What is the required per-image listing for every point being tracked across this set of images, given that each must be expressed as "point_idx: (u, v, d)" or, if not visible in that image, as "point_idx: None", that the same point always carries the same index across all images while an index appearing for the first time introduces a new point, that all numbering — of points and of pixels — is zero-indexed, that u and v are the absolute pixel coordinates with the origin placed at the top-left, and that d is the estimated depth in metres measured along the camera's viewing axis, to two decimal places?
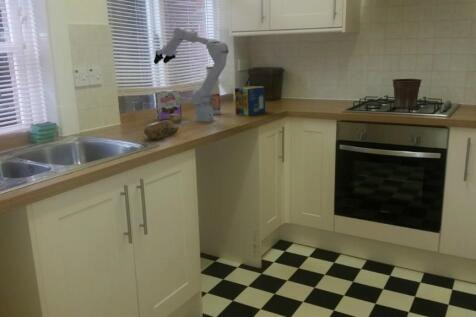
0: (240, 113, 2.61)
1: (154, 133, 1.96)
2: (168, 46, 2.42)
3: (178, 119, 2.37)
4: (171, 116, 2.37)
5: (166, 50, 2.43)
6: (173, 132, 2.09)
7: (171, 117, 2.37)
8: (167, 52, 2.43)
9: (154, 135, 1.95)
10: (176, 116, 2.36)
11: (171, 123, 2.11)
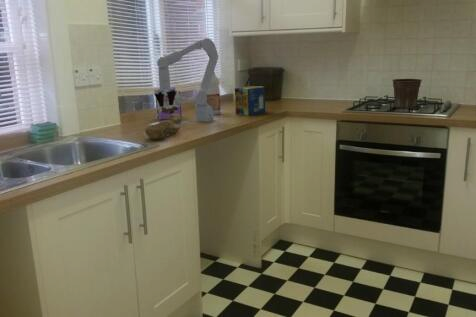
0: (240, 113, 2.61)
1: (156, 133, 1.95)
2: (161, 81, 2.36)
3: (178, 119, 2.37)
4: (171, 116, 2.37)
5: (162, 86, 2.36)
6: (174, 132, 2.08)
7: (171, 117, 2.37)
8: (164, 87, 2.36)
9: (156, 135, 1.95)
10: (176, 116, 2.36)
11: (172, 123, 2.11)
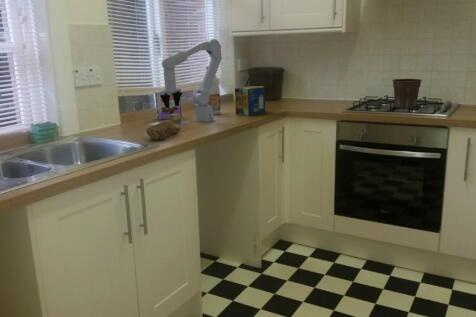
0: (240, 113, 2.61)
1: (157, 133, 1.95)
2: (166, 82, 2.30)
3: (178, 119, 2.37)
4: (171, 116, 2.37)
5: (167, 87, 2.31)
6: (175, 132, 2.08)
7: (171, 117, 2.37)
8: (170, 88, 2.31)
9: (157, 135, 1.95)
10: (176, 116, 2.36)
11: (173, 123, 2.11)
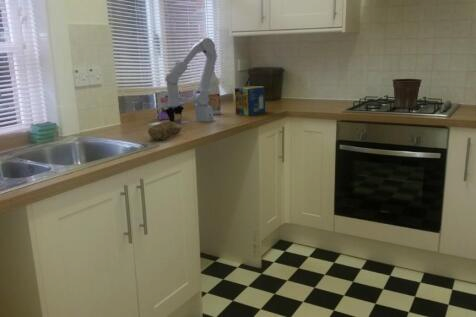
0: (240, 113, 2.61)
1: (159, 133, 1.95)
2: (170, 97, 2.33)
3: (178, 119, 2.37)
4: None
5: (171, 102, 2.34)
6: (176, 132, 2.08)
7: None
8: (173, 103, 2.34)
9: (159, 135, 1.95)
10: (176, 116, 2.36)
11: (174, 123, 2.11)
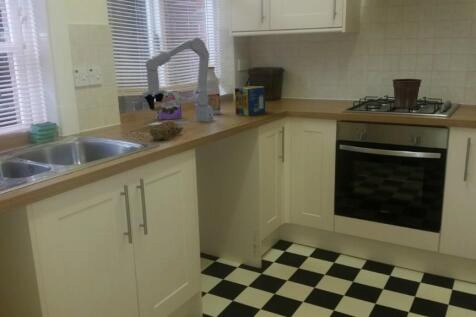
0: (240, 113, 2.61)
1: (161, 133, 1.95)
2: (149, 84, 2.30)
3: (158, 106, 2.34)
4: None
5: (150, 89, 2.30)
6: (178, 132, 2.08)
7: None
8: (152, 90, 2.30)
9: (161, 135, 1.95)
10: (156, 104, 2.32)
11: (175, 123, 2.11)
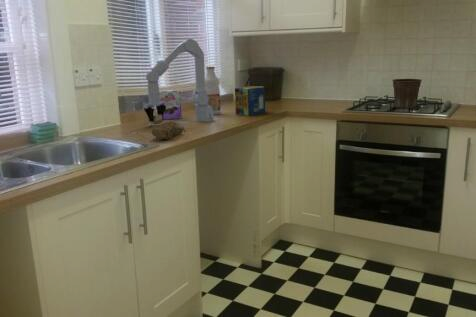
0: (240, 113, 2.61)
1: (163, 133, 1.95)
2: (150, 96, 2.31)
3: (159, 119, 2.35)
4: None
5: (151, 101, 2.32)
6: (179, 132, 2.08)
7: None
8: (153, 102, 2.32)
9: (163, 135, 1.94)
10: (157, 117, 2.34)
11: (177, 123, 2.11)
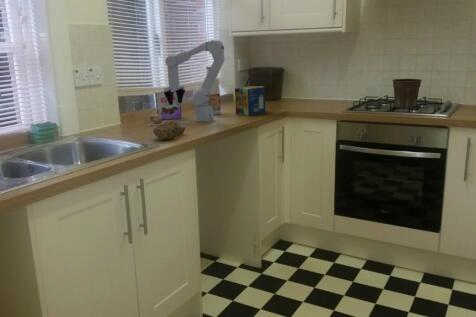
0: (240, 113, 2.61)
1: (165, 133, 1.94)
2: (170, 80, 2.40)
3: (159, 119, 2.35)
4: (152, 117, 2.35)
5: (171, 85, 2.40)
6: (181, 132, 2.08)
7: (151, 118, 2.35)
8: (173, 86, 2.40)
9: (165, 135, 1.94)
10: (157, 117, 2.34)
11: (178, 123, 2.10)
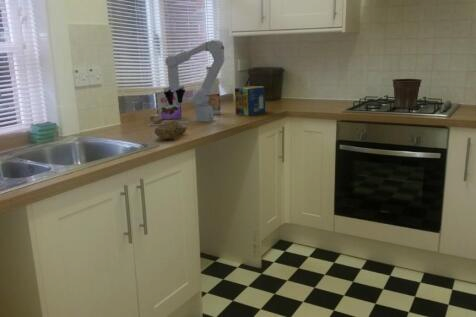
0: (240, 113, 2.61)
1: (167, 133, 1.94)
2: (170, 80, 2.40)
3: (159, 119, 2.35)
4: (152, 117, 2.35)
5: (171, 85, 2.40)
6: (182, 132, 2.08)
7: (151, 118, 2.35)
8: (173, 86, 2.40)
9: (167, 135, 1.94)
10: (157, 117, 2.34)
11: (179, 123, 2.10)
